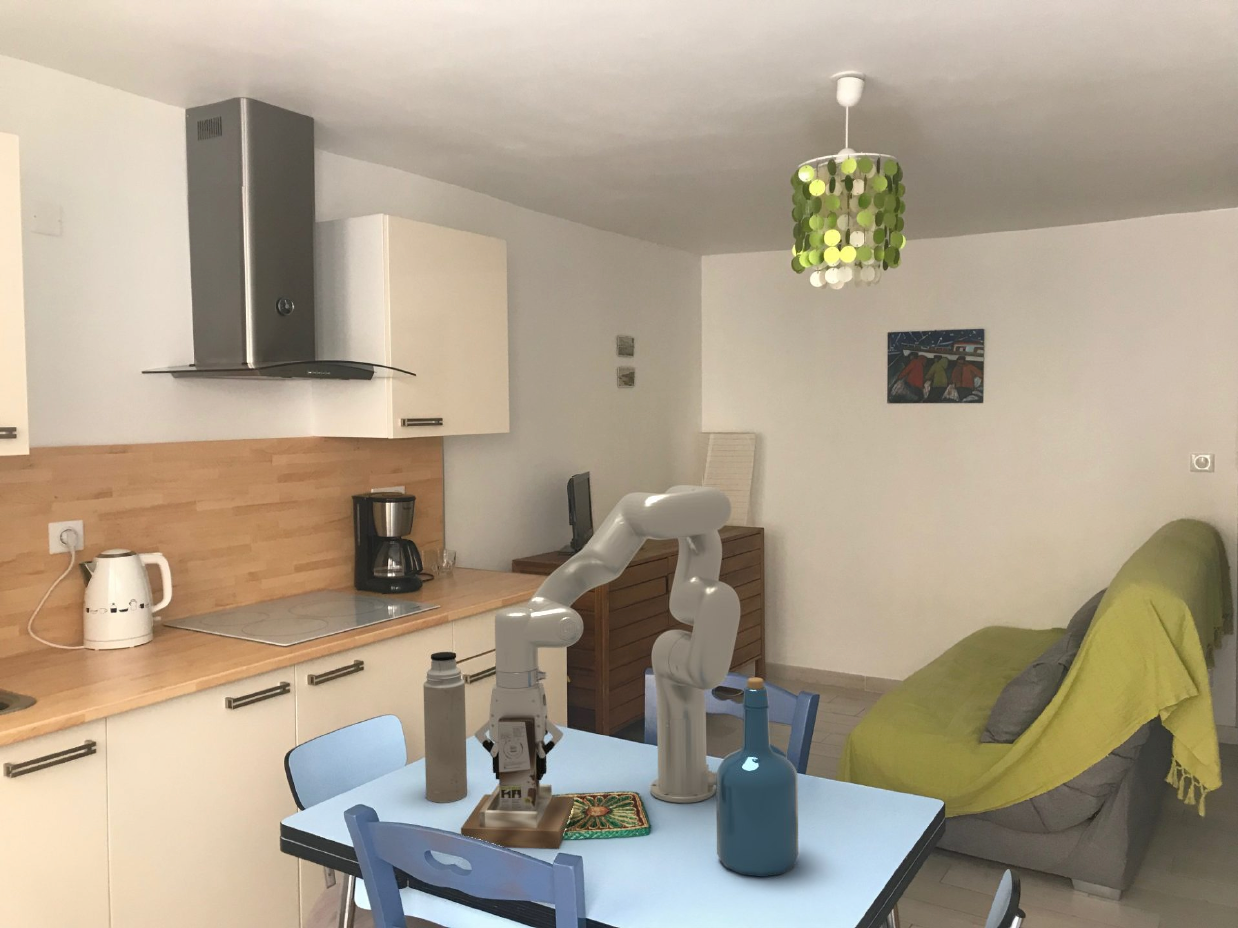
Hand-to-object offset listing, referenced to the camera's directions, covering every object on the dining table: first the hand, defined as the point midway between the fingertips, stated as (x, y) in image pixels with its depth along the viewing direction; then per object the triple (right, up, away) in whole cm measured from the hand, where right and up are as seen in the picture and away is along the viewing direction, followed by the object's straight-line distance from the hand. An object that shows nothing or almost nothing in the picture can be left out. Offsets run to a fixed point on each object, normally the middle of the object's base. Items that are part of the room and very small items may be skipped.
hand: (519, 776), depth 175 cm
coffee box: (0, -5, 0) cm, 5 cm away
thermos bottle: (-16, -9, +17) cm, 25 cm away
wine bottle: (+41, -9, -15) cm, 44 cm away
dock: (0, -9, 0) cm, 9 cm away
